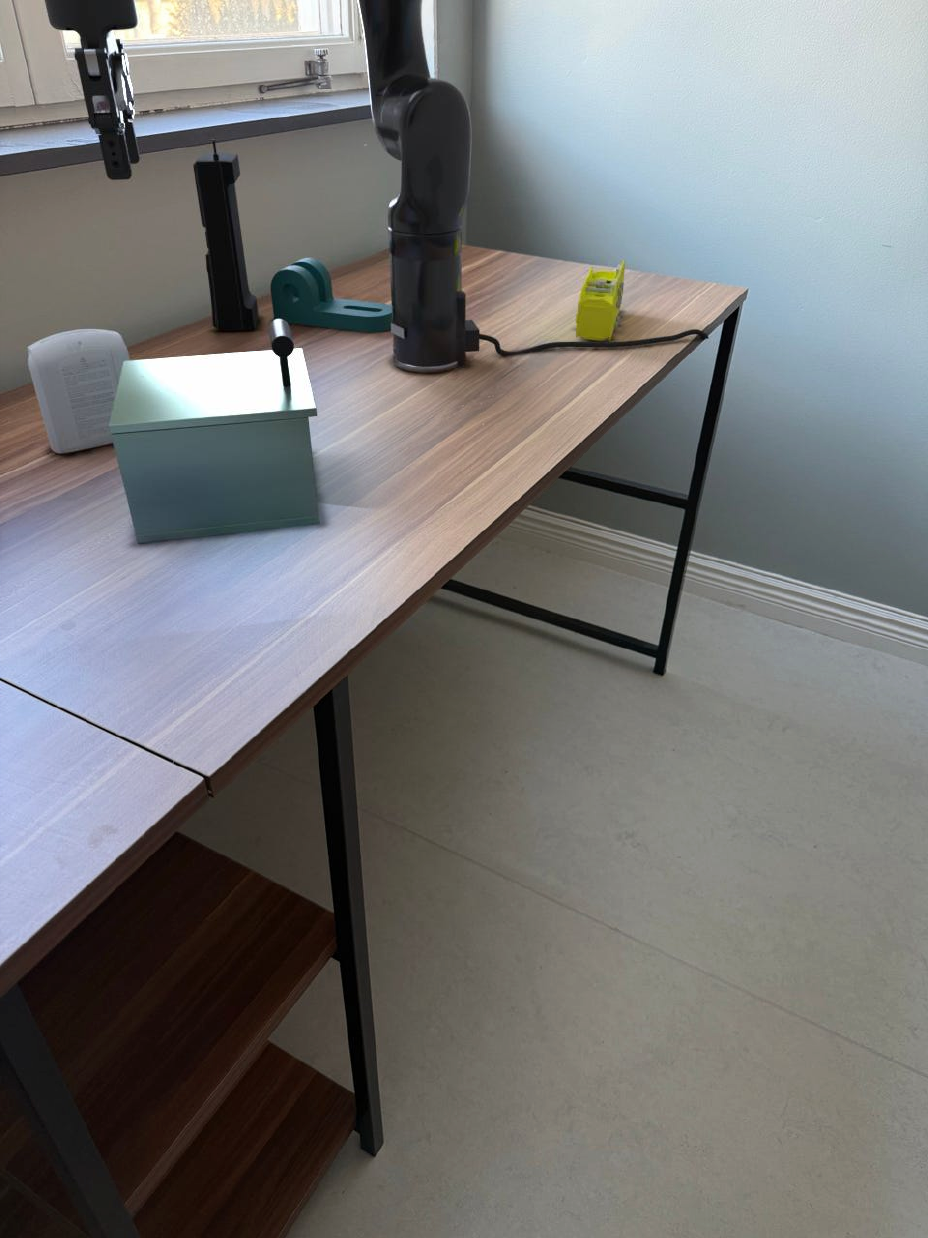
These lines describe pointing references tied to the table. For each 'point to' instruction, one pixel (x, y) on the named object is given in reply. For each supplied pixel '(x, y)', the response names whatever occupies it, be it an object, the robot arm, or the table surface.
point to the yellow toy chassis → (600, 304)
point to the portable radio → (224, 242)
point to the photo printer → (77, 385)
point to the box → (218, 478)
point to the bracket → (322, 301)
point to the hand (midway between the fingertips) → (125, 170)
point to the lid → (215, 388)
